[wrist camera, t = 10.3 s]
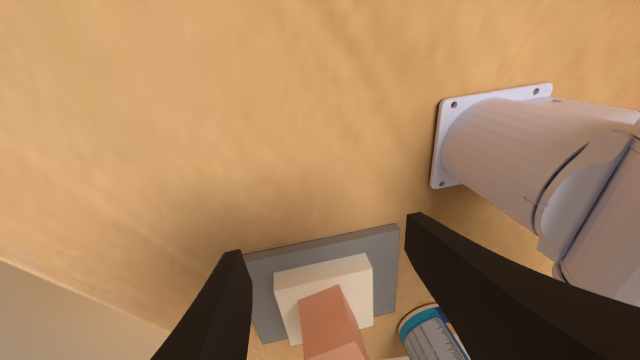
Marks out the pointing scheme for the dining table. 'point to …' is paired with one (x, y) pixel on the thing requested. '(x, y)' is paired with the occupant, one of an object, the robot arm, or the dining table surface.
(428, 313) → the beverage bottle
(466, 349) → the robot arm
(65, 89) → the dining table surface
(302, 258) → the tower base
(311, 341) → the brick
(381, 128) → the dining table surface
